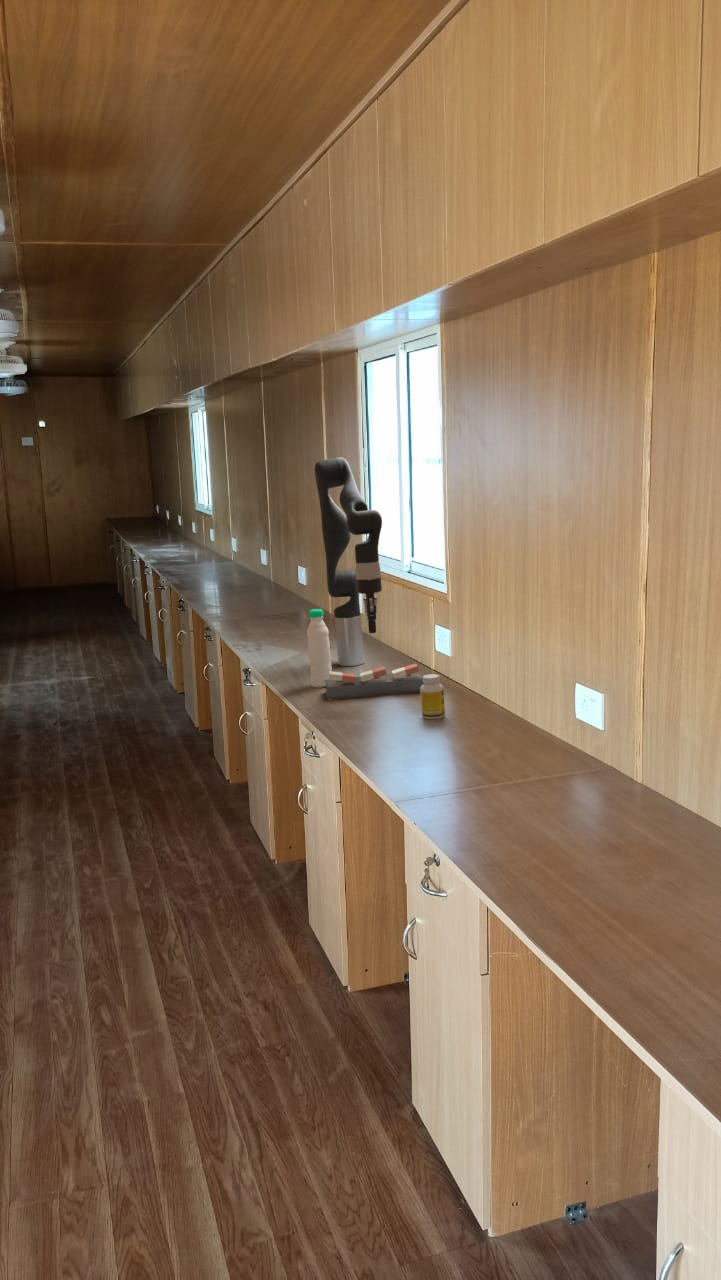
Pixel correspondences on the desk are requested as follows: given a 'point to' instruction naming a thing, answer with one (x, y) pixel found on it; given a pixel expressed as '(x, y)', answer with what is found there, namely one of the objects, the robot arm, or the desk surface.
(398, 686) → the power strip
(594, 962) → the desk surface
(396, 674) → the rocker
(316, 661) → the water bottle
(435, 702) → the pill bottle
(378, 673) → the block
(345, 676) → the rocker
